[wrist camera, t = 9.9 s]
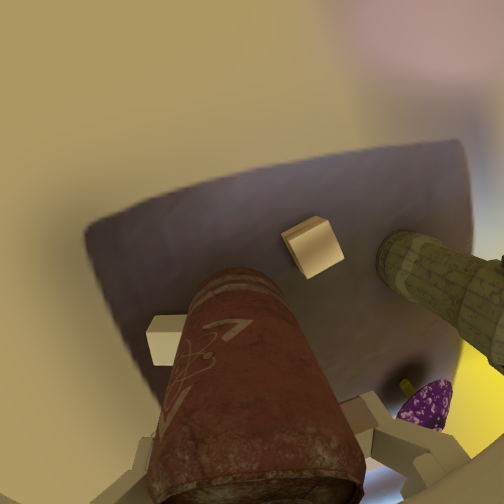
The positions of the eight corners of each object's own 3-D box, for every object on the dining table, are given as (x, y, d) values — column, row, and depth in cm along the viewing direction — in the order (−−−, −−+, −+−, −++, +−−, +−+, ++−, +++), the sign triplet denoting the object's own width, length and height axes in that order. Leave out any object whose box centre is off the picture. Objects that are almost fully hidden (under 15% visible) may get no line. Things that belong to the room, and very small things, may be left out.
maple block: (330, 249, 36) (344, 258, 32) (297, 267, 37) (307, 279, 32) (314, 215, 35) (327, 219, 30) (280, 233, 35) (288, 241, 31)
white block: (194, 345, 38) (191, 365, 33) (161, 345, 38) (153, 365, 33) (189, 314, 37) (185, 331, 32) (154, 315, 36) (145, 332, 32)
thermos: (382, 304, 39) (550, 460, 5) (367, 232, 36) (616, 353, 2) (425, 281, 39) (595, 392, 5) (414, 211, 36) (636, 280, 2)
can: (197, 354, 19) (176, 547, 5) (186, 267, 17) (101, 466, 4) (283, 349, 19) (348, 532, 5) (284, 262, 18) (411, 439, 4)
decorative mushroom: (422, 341, 42) (472, 386, 27) (430, 380, 45) (468, 422, 30) (366, 380, 42) (405, 437, 28) (380, 414, 45) (412, 464, 31)
